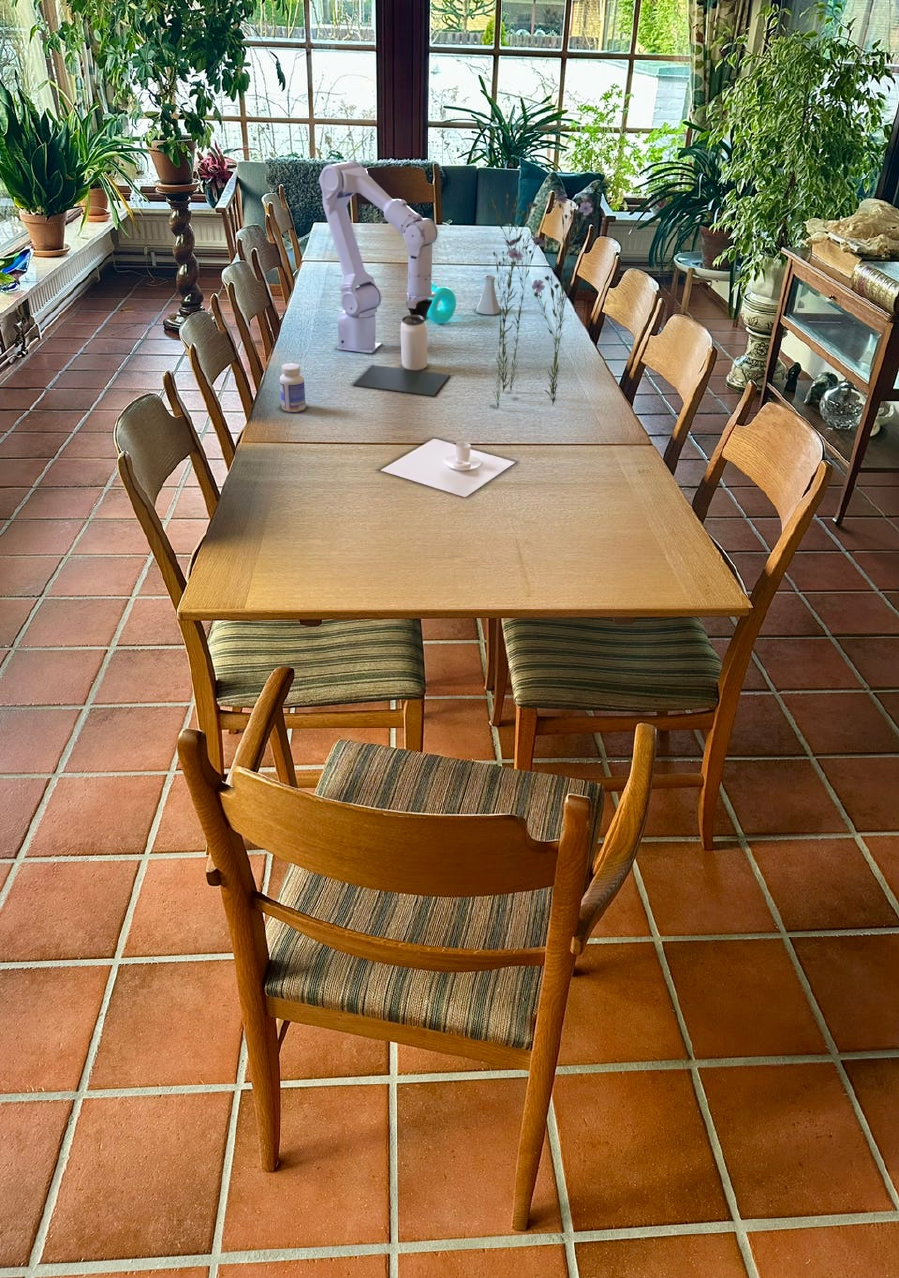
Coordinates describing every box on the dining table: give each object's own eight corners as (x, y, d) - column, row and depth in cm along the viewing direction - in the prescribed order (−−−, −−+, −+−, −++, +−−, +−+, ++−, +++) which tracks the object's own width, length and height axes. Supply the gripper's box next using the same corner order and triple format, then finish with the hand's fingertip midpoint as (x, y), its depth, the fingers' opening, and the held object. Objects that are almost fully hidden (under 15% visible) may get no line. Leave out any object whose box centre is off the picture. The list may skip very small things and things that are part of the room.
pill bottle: (309, 405, 225) (307, 363, 219) (299, 414, 220) (296, 371, 215) (288, 402, 226) (285, 360, 220) (277, 410, 222) (274, 367, 216)
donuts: (430, 327, 275) (431, 290, 269) (407, 318, 281) (408, 282, 276) (457, 321, 281) (459, 285, 275) (434, 312, 287) (435, 277, 281)
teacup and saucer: (467, 477, 197) (468, 458, 195) (433, 466, 200) (434, 448, 198) (489, 462, 203) (490, 443, 201) (456, 452, 207) (457, 434, 204)
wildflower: (463, 408, 227) (474, 198, 201) (496, 377, 244) (510, 180, 219) (557, 426, 220) (580, 211, 195) (584, 393, 238) (608, 191, 213)
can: (424, 372, 246) (423, 326, 237) (398, 369, 246) (397, 324, 238) (430, 360, 250) (429, 315, 242) (405, 357, 251) (403, 312, 243)
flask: (472, 312, 288) (473, 277, 282) (480, 306, 294) (482, 271, 288) (495, 316, 286) (497, 281, 280) (503, 310, 292) (506, 275, 286)
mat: (353, 385, 236) (353, 384, 236) (372, 366, 248) (372, 365, 247) (433, 396, 232) (434, 395, 232) (449, 376, 244) (449, 375, 244)
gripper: (427, 282, 232) (426, 340, 240) (443, 267, 244) (441, 323, 251) (399, 279, 233) (398, 337, 241) (416, 264, 245) (415, 320, 253)
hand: (418, 329), depth 246 cm, fingers closed
